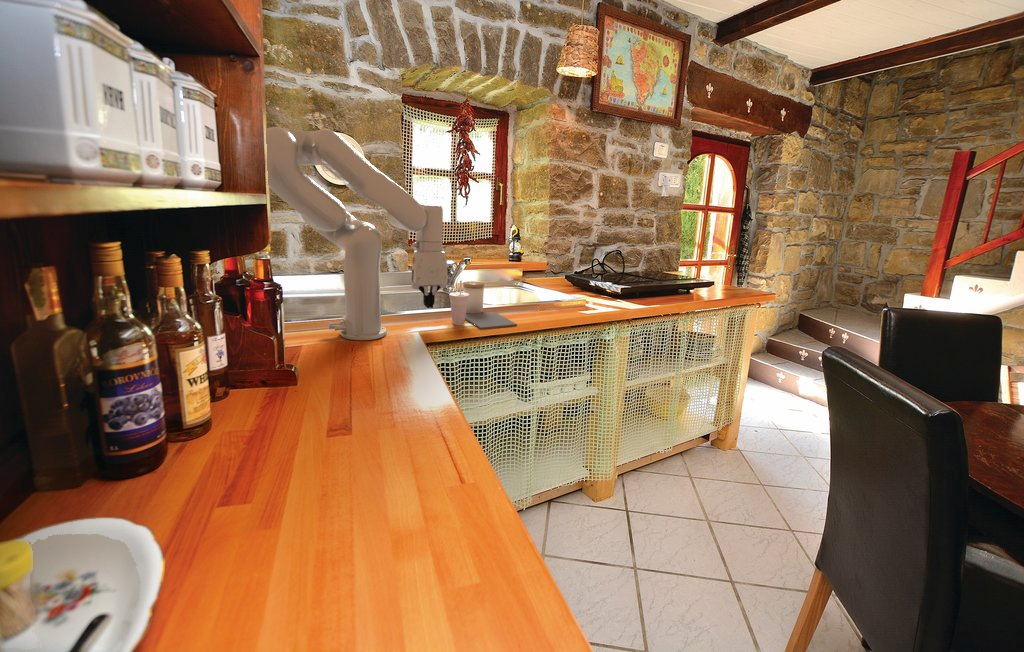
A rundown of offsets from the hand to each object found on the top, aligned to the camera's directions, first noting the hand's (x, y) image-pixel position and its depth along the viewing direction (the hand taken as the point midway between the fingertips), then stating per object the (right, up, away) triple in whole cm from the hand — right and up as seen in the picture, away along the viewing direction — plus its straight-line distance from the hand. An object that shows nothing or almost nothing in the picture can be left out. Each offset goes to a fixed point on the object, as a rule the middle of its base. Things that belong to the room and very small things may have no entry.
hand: (428, 306), depth 147 cm
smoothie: (+8, -5, +6) cm, 12 cm away
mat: (+17, -4, +11) cm, 21 cm away
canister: (+12, -1, +23) cm, 25 cm away
